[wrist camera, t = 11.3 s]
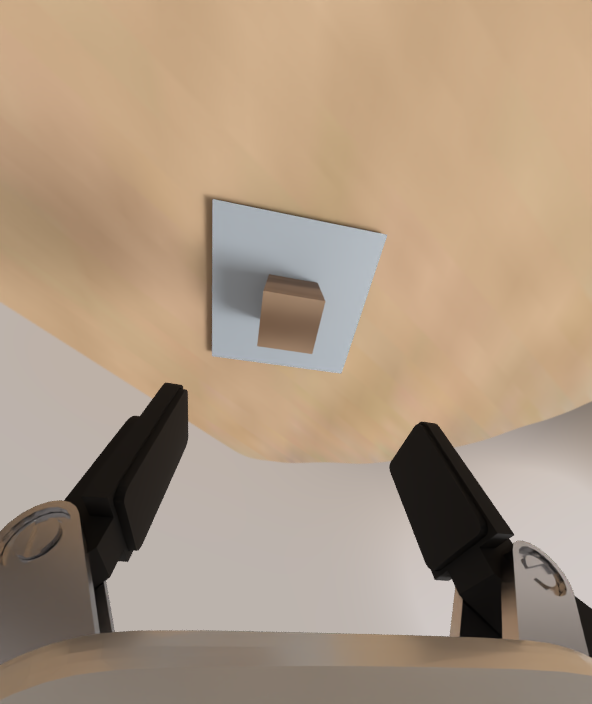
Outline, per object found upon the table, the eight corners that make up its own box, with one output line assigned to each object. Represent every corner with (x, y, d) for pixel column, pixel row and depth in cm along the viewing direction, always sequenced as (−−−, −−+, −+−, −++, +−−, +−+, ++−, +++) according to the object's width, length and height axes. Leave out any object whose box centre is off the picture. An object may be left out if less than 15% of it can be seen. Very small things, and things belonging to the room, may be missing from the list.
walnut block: (268, 274, 24) (263, 290, 19) (317, 282, 24) (325, 301, 19) (263, 320, 26) (257, 346, 21) (307, 327, 27) (312, 354, 22)
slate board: (215, 199, 21) (212, 198, 20) (384, 234, 23) (387, 234, 22) (213, 352, 29) (212, 356, 28) (340, 369, 31) (341, 373, 30)
